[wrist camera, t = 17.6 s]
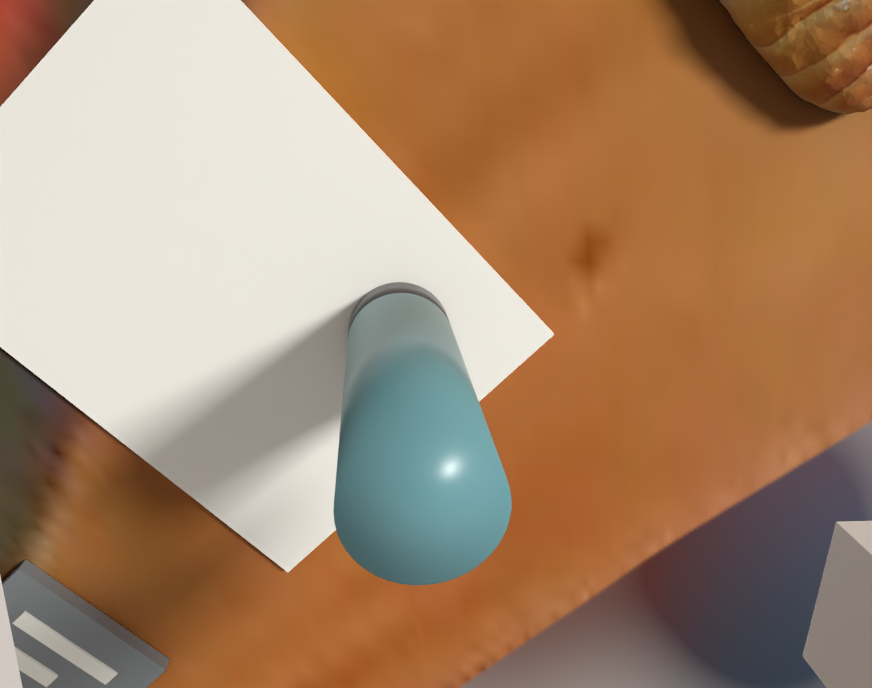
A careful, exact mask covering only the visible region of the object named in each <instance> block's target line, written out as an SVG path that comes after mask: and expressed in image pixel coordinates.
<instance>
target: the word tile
mask: <svg viewBox="0 0 872 688" xmlns="http://www.w3.org/2000/svg"><path fill="white" fill-rule="evenodd" d="M2 587H3V592H4V597H5V602H6V607H7V612H8V617H9V622H10V627H11V632H12V637H13V642H14V647H15V652H16V657H17V662H18V667H19V672H20V677H21V682H22V687H23V688H147V687H148V686H149V685H150V684H151V683H152V682H153V681H154V680H155V679H157V678H158V677H159V676H160V675H161V674H162V673H163V672H164V671H165V670H166V668H167V666H168V663H169V660H170V659H169V658H167V657H166V656H164V655H163V654H161V653H160V652H159V651H157V650H156V649H154V648H153V647H151V646H150V645H148V644H147V643H146V642H144V641H143V640H141V639H140V638H138V637H137V636H136V635H134V634H133V633H131V632H130V631H128V630H127V629H125V628H124V627H123V626H121V625H120V624H118V623H117V622H115V621H114V620H112V619H111V618H110V617H108V616H107V615H105V614H104V613H102V612H101V611H99V610H98V609H97V608H95V607H94V606H92V605H91V604H89V603H88V602H86V601H85V600H84V599H82V598H81V597H79V596H78V595H76V594H75V593H73V592H72V591H71V590H69V589H68V588H66V587H65V586H63V585H62V584H61V583H59V582H58V581H56V580H55V579H53V578H52V577H50V576H49V575H48V574H46V573H45V572H43V571H42V570H40V569H39V568H37V567H36V566H35V565H33V564H32V563H30V562H29V561H27V560H25V561H24V562H23V563H21V564H20V565H19V566H18V567H17V568H16V569H15V570H14V571H13V572H12V573H11V574H10V575H9V576H8V577H7V578H6V579H5V580H4V581H3V582H2Z"/></svg>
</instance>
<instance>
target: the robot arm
mask: <svg viewBox="0 0 872 688" xmlns="http://www.w3.org/2000/svg"><path fill="white" fill-rule="evenodd" d="M803 657H804V658H805V660H806V661H807V662H808V664H809V665H810V666H811V667H812V669H813V670H814V672H815V673H816V674H817V675H818V677H819V678H820V679H821V681H822V682H823V683H824V685H825V686H826V687H827V688H872V521H847V522H836V525H835V529H834V533H833V537H832V541H831V545H830V549H829V553H828V557H827V561H826V564H825V569H824V573H823V576H822V581H821V584H820V589H819V592H818V596H817V600H816V604H815V608H814V612H813V616H812V620H811V625H810V628H809V633H808V637H807V640H806V644H805V648H804V652H803ZM0 688H23V687H22V682H21V677H20V672H19V667H18V662H17V657H16V652H15V647H14V642H13V637H12V632H11V627H10V622H9V617H8V612H7V607H6V602H5V597H4V592H3V587H2V582H1V577H0Z"/></svg>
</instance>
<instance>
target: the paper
mask: <svg viewBox="0 0 872 688" xmlns="http://www.w3.org/2000/svg"><path fill="white" fill-rule="evenodd" d="M393 282H406V283H411V284H415V285H418V286H420V287H422V288H424V289H426V290H428V291H429V292H431V293H432V294H433V295H434V296H435V297H436V298H437V299H438V300H439V301H440V303H441V304H442V306H443V307H444V309H445V312H446V314H447V317H448V319H449V322H450V325H451V328H452V330H453V333H454V336H455V338H456V341H457V344H458V347H459V349H460V352H461V355H462V358H463V360H464V363H465V366H466V369H467V371H468V374H469V377H470V379H471V382H472V385H473V388H474V390H475V393H476V396H477V399H478V401H480V400H481V399H483V398H484V397H485V396H486V395H487V394H488V393H489V392H490V391H492V390H493V389H494V388H495V387H496V386H497V385H498V384H499V383H500V382H502V381H503V380H504V379H505V378H506V377H507V376H508V375H509V374H511V373H512V372H513V371H514V370H515V369H516V368H517V367H518V366H519V365H521V364H522V363H523V362H524V361H525V360H526V359H527V358H528V357H530V356H531V355H532V354H533V353H534V352H535V351H536V350H537V349H538V348H540V347H541V346H542V345H543V344H544V343H545V342H546V341H547V340H549V339H550V338H551V337H552V336H553V335H554V333H553V332H552V331H551V330H550V329H549V328H548V327H547V326H546V324H545V323H544V322H543V321H542V320H541V319H540V318H539V317H538V316H537V315H536V314H535V313H534V312H533V311H532V310H531V309H530V307H529V306H528V305H527V304H526V303H525V302H524V301H523V300H522V299H521V298H520V297H519V296H518V295H517V294H516V293H515V292H514V290H513V289H512V288H511V287H510V286H509V285H508V284H507V283H506V282H505V281H504V280H503V279H502V278H501V277H500V276H499V274H498V273H497V272H496V271H495V270H494V269H493V268H492V267H491V266H490V265H489V264H488V263H487V262H486V261H485V260H484V259H483V257H482V256H481V255H480V254H479V253H478V252H477V251H476V250H475V249H474V248H473V247H472V246H471V245H470V244H469V243H468V242H467V240H466V239H465V238H464V237H463V236H462V235H461V234H460V233H459V232H458V231H457V230H456V229H455V228H454V227H453V226H452V224H451V223H450V222H449V221H448V220H447V219H446V218H445V217H444V216H443V215H442V214H441V213H440V212H439V211H438V210H437V209H436V207H435V206H434V205H433V204H432V203H431V202H430V201H429V200H428V199H427V198H426V197H425V196H424V195H423V194H422V193H421V192H420V190H419V189H418V188H417V187H416V186H415V185H414V184H413V183H412V182H411V181H410V180H409V179H408V178H407V177H406V176H405V174H404V173H403V172H402V171H401V170H400V169H399V168H398V167H397V166H396V165H395V164H394V163H393V162H392V161H391V160H390V159H389V157H388V156H387V155H386V154H385V153H384V152H383V151H382V150H381V149H380V148H379V147H378V146H377V145H376V144H375V143H374V142H373V140H372V139H371V138H370V137H369V136H368V135H367V134H366V133H365V132H364V131H363V130H362V129H361V128H360V127H359V126H358V124H357V123H356V122H355V121H354V120H353V119H352V118H351V117H350V116H349V115H348V114H347V113H346V112H345V111H344V110H343V109H342V107H341V106H340V105H339V104H338V103H337V102H336V101H335V100H334V99H333V98H332V97H331V96H330V95H329V94H328V93H327V92H326V90H325V89H324V88H323V87H322V86H321V85H320V84H319V83H318V82H317V81H316V80H315V79H314V78H313V77H312V76H311V74H310V73H309V72H308V71H307V70H306V69H305V68H304V67H303V66H302V65H301V64H300V63H299V62H298V61H297V60H296V59H295V57H294V56H293V55H292V54H291V53H290V52H289V51H288V50H287V49H286V48H285V47H284V46H283V45H282V44H281V43H280V42H279V40H278V39H277V38H276V37H275V36H274V35H273V34H272V33H271V32H270V31H269V30H268V29H267V28H266V27H265V26H264V24H263V23H262V22H261V21H260V20H259V19H258V18H257V17H256V16H255V15H254V14H253V13H252V12H251V11H250V10H249V9H248V7H247V6H246V5H245V4H244V3H243V2H242V1H241V0H94V1H93V2H92V3H91V4H90V6H89V7H88V8H87V9H86V10H85V11H84V12H83V13H82V15H81V16H80V17H79V18H78V19H77V20H76V21H75V23H74V24H73V25H72V26H71V27H70V28H69V29H68V31H67V32H66V33H65V34H64V35H63V36H62V37H61V39H60V40H59V41H58V42H57V43H56V44H55V45H54V47H53V48H52V49H51V50H50V51H49V52H48V53H47V54H46V56H45V57H44V58H43V59H42V60H41V61H40V62H39V64H38V65H37V66H36V67H35V68H34V69H33V70H32V72H31V73H30V74H29V75H28V76H27V77H26V78H25V80H24V81H23V82H22V83H21V84H20V85H19V86H18V88H17V89H16V90H15V91H14V92H13V93H12V94H11V95H10V97H9V98H8V99H7V100H6V101H5V102H4V103H3V105H2V106H1V107H0V347H1V348H2V349H3V350H5V351H6V352H7V353H8V354H10V355H11V356H12V357H14V358H15V359H16V360H17V361H19V362H20V363H21V364H23V365H24V366H25V367H26V368H28V369H29V370H30V371H31V372H33V373H34V374H35V375H37V376H38V377H39V378H40V379H42V380H43V381H44V382H45V383H47V384H48V385H49V386H51V387H52V388H53V389H54V390H56V391H57V392H58V393H60V394H61V395H62V396H63V397H65V398H66V399H67V400H68V401H70V402H71V403H72V404H74V405H75V406H76V407H77V408H79V409H80V410H81V411H82V412H84V413H85V414H86V415H88V416H89V417H90V418H91V419H93V420H94V421H95V422H97V423H98V424H99V425H100V426H102V427H103V428H104V429H105V430H107V431H108V432H109V433H111V434H112V435H113V436H114V437H116V438H117V439H118V440H119V441H121V442H122V443H123V444H125V445H126V446H127V447H128V448H130V449H131V450H132V451H134V452H135V453H136V454H137V455H139V456H140V457H141V458H142V459H144V460H145V461H146V462H148V463H149V464H150V465H151V466H153V467H154V468H155V469H156V470H158V471H159V472H160V473H162V474H163V475H164V476H165V477H167V478H168V479H169V480H171V481H172V482H173V483H174V484H176V485H177V486H178V487H179V488H181V489H182V490H183V491H185V492H186V493H187V494H188V495H190V496H191V497H192V498H193V499H195V500H196V501H197V502H199V503H200V504H201V505H202V506H204V507H205V508H206V509H208V510H209V511H210V512H211V513H213V514H214V515H215V516H216V517H218V518H219V519H220V520H222V521H223V522H224V523H225V524H227V525H228V526H229V527H230V528H232V529H233V530H234V531H236V532H237V533H238V534H239V535H241V536H242V537H243V538H245V539H246V540H247V541H248V542H250V543H251V544H252V545H253V546H255V547H256V548H257V549H259V550H260V551H261V552H262V553H264V554H265V555H266V556H267V557H269V558H270V559H271V560H273V561H274V562H275V563H276V564H278V565H279V566H280V567H282V568H283V569H284V570H285V571H287V572H289V571H290V570H291V569H292V568H294V567H295V566H296V565H297V564H298V563H299V562H300V561H301V560H302V559H304V558H305V557H306V556H307V555H308V554H309V553H310V552H311V551H313V550H314V549H315V548H316V547H317V546H318V545H319V544H320V543H322V542H323V541H324V540H325V539H326V538H327V537H328V536H329V535H330V534H332V533H333V532H334V531H335V530H336V527H335V523H334V513H333V511H334V496H335V484H336V472H337V460H338V448H339V436H340V424H341V412H342V400H343V388H344V376H345V364H346V352H347V340H348V328H349V321H350V317H351V314H352V312H353V310H354V308H355V306H356V305H357V303H358V302H359V301H360V300H361V298H362V297H363V296H364V295H366V294H367V293H368V292H370V291H371V290H373V289H374V288H376V287H378V286H381V285H384V284H388V283H393Z"/></svg>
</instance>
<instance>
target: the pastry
mask: <svg viewBox="0 0 872 688" xmlns="http://www.w3.org/2000/svg"><path fill="white" fill-rule="evenodd" d="M719 1H720V2H721V3H722V5H723V6H724V7H725V8H726V9H727V11H728V12H729V13H730V16H731V18H732V20H733V21H734V23H736V25H737V26H738V27H739V28H740V29H741V31H742V33H743V34H744V36H745V37H746V39H747V40H748V41H749V42H750V43H751V44H752V45H753V47H754V48H755V49H756V50H757V51H758V53H759V54H760V55H761V56H762V57H763V58H764V59H765V60H766V62H767V63H768V64H769V65H770V66H771V67H772V69H773V70H774V71H775V72H776V73H777V74H778V75H779V76H780V78H781V79H782V80H783V81H784V82H785V83H786V84H787V86H788V87H789V88H790V89H791V90H792V91H793V92H794V93H795V94H796V95H797V96H799V97H801V98H802V99H804V100H806V101H808V102H810V103H813V104H815V105H816V106H818V107H820V108H823V109H826V110H829V111H833V112H837V113H841V114H851V113H854V112H864V111H867V110H869V109H871V108H872V0H719Z"/></svg>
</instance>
